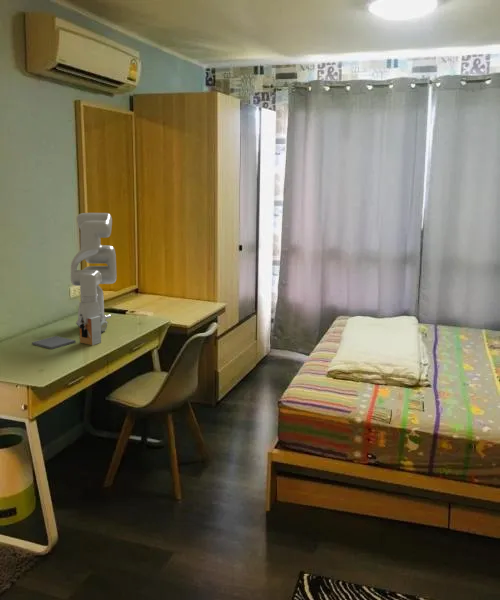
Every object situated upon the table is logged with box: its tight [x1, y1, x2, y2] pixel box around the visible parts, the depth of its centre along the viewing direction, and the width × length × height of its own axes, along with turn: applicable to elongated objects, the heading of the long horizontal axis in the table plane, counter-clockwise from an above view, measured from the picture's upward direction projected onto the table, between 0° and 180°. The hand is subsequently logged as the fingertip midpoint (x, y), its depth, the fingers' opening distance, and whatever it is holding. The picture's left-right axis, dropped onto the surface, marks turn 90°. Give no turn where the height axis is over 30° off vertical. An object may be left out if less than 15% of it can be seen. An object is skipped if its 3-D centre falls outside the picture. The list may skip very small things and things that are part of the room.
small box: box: [78, 316, 102, 346], centre depth 284 cm, size 8×6×13 cm
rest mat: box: [31, 335, 77, 350], centre depth 283 cm, size 14×14×1 cm
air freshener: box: [100, 312, 108, 334], centre depth 304 cm, size 11×8×10 cm
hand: (90, 335), depth 284 cm, fingers closed on small box, 6 cm apart
